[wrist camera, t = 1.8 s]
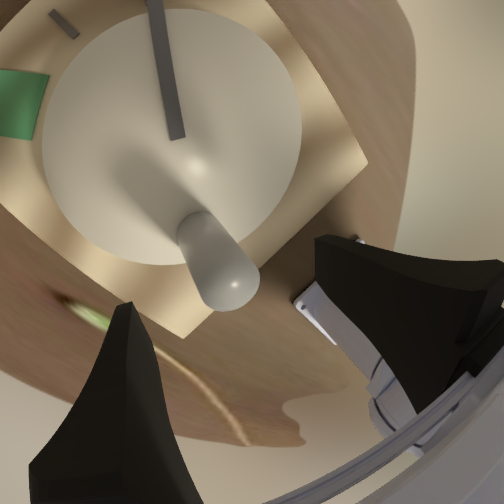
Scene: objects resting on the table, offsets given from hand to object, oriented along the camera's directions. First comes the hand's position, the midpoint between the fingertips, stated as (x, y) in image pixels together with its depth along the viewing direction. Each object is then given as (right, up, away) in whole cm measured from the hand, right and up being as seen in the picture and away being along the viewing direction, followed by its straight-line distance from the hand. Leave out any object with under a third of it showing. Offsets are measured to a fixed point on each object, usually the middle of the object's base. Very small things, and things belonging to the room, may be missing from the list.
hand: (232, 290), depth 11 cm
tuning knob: (-3, +9, +2) cm, 10 cm away
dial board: (-4, +8, +4) cm, 10 cm away
